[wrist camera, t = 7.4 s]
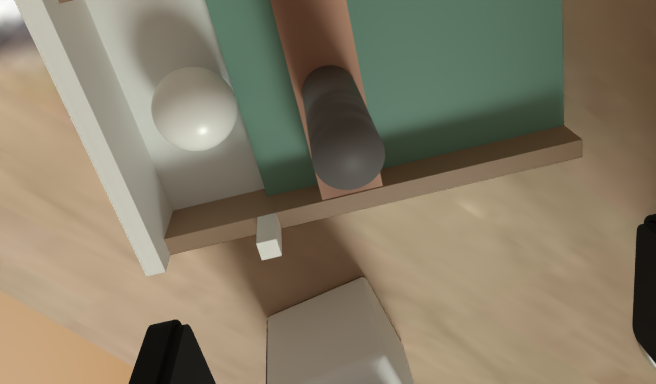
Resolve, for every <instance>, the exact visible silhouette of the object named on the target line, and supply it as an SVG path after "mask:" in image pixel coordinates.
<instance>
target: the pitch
mask: <svg viewBox="0 0 656 384" xmlns="http://www.w3.org/2000/svg"><path fill="white" fill-rule="evenodd" d="M14 1H15V3H16V5H17V7H18V9H19V11H20V13H21V15H22V17H23V19H24V22H25V24H26V26H27V28H28V30H29V32H30V34H31V36H32V38H33V40H34V42H35V45H36V47H37V49H38V51H39V53H40V55H41V57H42V59H43V61H44V63H45V65H46V68H47V70H48V72H49V74H50V76H51V78H52V80H53V82H54V84H55V86H56V88H57V91H58V93H59V95H60V97H61V99H62V101H63V103H64V105H65V107H66V109H67V111H68V113H69V116H70V118H71V120H72V122H73V124H74V126H75V128H76V130H77V132H78V134H79V136H80V139H81V141H82V143H83V145H84V147H85V149H86V151H87V153H88V155H89V157H90V159H91V162H92V164H93V166H94V168H95V170H96V172H97V174H98V176H99V178H100V180H101V182H102V185H103V187H104V189H105V191H106V193H107V195H108V197H109V199H110V201H111V203H112V205H113V207H114V210H115V212H116V214H117V216H118V218H119V220H120V222H121V224H122V226H123V228H124V230H125V233H126V235H127V237H128V239H129V241H130V243H131V245H132V247H133V249H134V251H135V253H136V256H137V258H138V260H139V262H140V264H141V266H142V268H143V270H144V272H145V274H146V276H150V275H155V274H159V273H163V272H166V269H167V266H168V262H169V259H170V255H172V254H177V253H181V252H185V251H189V250H193V249H198V248H202V247H206V246H210V245H214V244H219V243H223V242H227V241H231V240H235V239H240V238H244V237H248V236H252V235H256V234H257V236H256V245H257V248H258V251H259V254H260V257H261V259H262V260H266V259H270V258H275V257H279V256H282V237H281V229H282V228H286V227H290V226H294V225H299V224H303V223H307V222H311V221H315V220H320V219H324V218H328V217H332V216H336V215H341V214H345V213H349V212H353V211H357V210H362V209H366V208H370V207H374V206H378V205H383V204H387V203H391V202H395V201H399V200H404V199H408V198H412V197H416V196H421V195H425V194H429V193H433V192H437V191H442V190H446V189H450V188H454V187H458V186H463V185H467V184H471V183H475V182H479V181H484V180H488V179H492V178H496V177H500V176H505V175H509V174H513V173H517V172H521V171H526V170H530V169H534V168H538V167H543V166H547V165H551V164H555V163H559V162H564V161H568V160H572V159H576V158H580V157H582V139H581V138H580V137H578V136H577V135H576V134H574V133H573V132H572V131H570V130H569V129H568V128H567V127H565V126H564V95H563V21H562V0H346V2H347V7H348V12H349V17H350V22H351V27H352V32H353V37H354V43H355V48H356V53H357V58H358V63H359V68H360V73H361V78H362V83H363V88H364V93H365V98H366V103H367V109H368V112H369V114H370V116H371V118H372V120H373V123H374V125H375V127H376V129H377V131H378V134H379V136H380V138H381V140H382V143H383V145H384V149H385V160H384V164H383V167H382V169H381V171H380V175H381V180H382V185H383V186H380V187H376V188H372V189H367V190H363V191H359V192H355V193H351V194H346V195H342V196H338V197H334V198H330V199H325V200H322V196H321V193H320V189H319V185H318V181H317V177H316V174H315V170H314V167H313V163H312V158H311V154H310V151H309V147H308V143H307V139H306V135H305V131H304V128H303V124H302V120H301V116H300V112H299V108H298V105H297V101H296V97H295V93H294V89H293V86H292V82H291V78H290V74H289V70H288V66H287V63H286V59H285V55H284V51H283V47H282V43H281V40H280V36H279V32H278V28H277V24H276V21H275V17H274V13H273V9H272V5H271V1H270V0H14ZM184 67H201V68H205V69H208V70H211V71H213V72H215V73H216V74H218V75H219V76H221V77H222V78H223V79H224V80H225V81H226V82H227V83H228V85H229V86H230V87H231V89H232V91H233V93H234V96H235V99H236V103H237V118H236V122H235V125H234V127H233V129H232V131H231V133H230V134H229V135H228V137H227V138H226V139H225V140H224V141H222V142H221V143H220V144H218V145H217V146H215V147H213V148H210V149H207V150H202V151H189V150H184V149H181V148H179V147H176V146H174V145H173V144H171V143H170V142H168V141H167V140H166V139H165V138H164V137H163V136H162V135H161V134H160V133H159V131H158V129H157V128H156V126H155V124H154V121H153V118H152V113H151V103H152V97H153V94H154V91H155V89H156V87H157V85H158V84H159V83H160V81H161V80H162V79H163V78H164V77H165V76H167V75H168V74H169V73H171V72H173V71H175V70H177V69H180V68H184Z"/></svg>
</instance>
